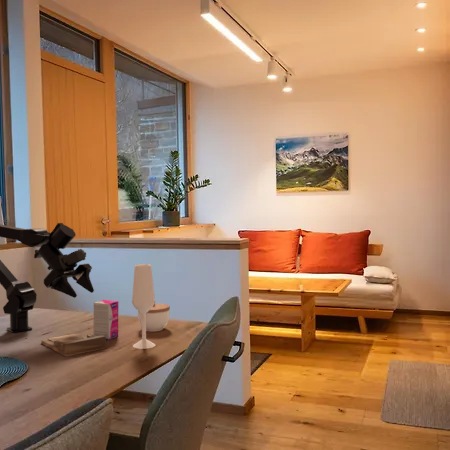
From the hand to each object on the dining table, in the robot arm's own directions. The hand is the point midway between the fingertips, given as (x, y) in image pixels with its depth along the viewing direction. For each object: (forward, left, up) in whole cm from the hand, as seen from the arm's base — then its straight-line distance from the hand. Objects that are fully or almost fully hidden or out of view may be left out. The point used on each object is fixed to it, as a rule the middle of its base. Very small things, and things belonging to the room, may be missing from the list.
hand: (84, 294), depth 166 cm
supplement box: (+7, +4, -14) cm, 16 cm away
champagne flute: (+23, +8, -14) cm, 28 cm away
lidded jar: (+8, +21, -14) cm, 26 cm away
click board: (+9, -8, -13) cm, 18 cm away
